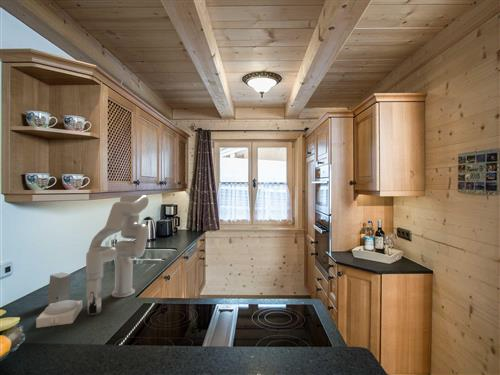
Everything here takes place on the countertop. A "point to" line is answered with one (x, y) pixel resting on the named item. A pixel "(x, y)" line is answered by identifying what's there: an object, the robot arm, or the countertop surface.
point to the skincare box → (59, 287)
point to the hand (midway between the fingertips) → (94, 309)
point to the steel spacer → (98, 303)
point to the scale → (59, 313)
